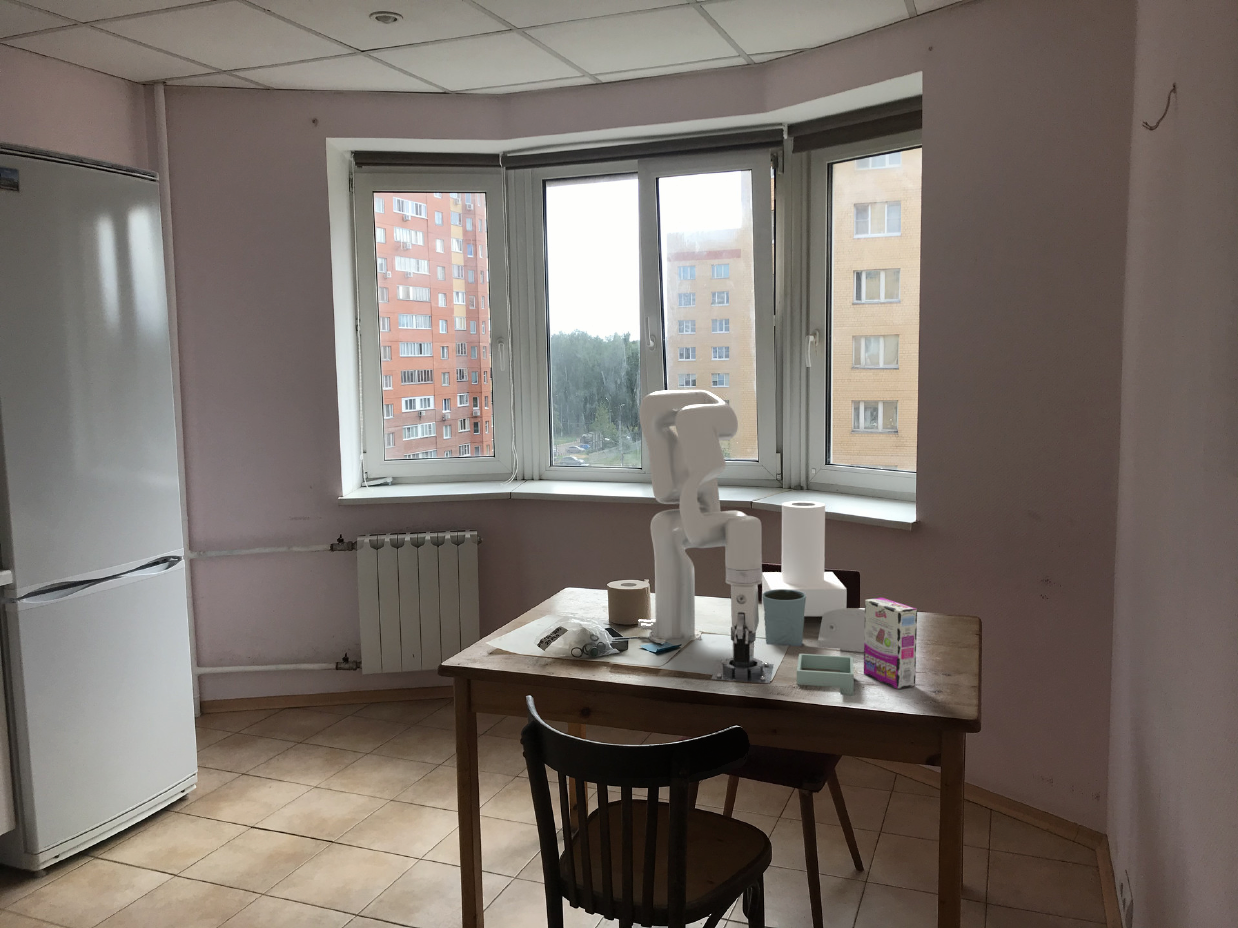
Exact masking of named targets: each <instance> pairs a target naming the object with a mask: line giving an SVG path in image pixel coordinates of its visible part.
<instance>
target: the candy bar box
mask: <svg viewBox="0 0 1238 928" xmlns="http://www.w3.org/2000/svg"><path fill="white" fill-rule="evenodd" d="M864 610H865V629H864V652H863V674H864V675H866V676H867V677H870V678H872V679H874V680H877V681H879V682H880V683H883V684H886V685H888V686H890V687H893V688H894V689H896V690H900V689H908V688H912V687H916V673H917V671H916V670H917V667H916V666H917V634H918V632H917V631H918V628H917V627H918V608H916V607H912V606H909V605H906V604H903V603H900V602H896V601H894V600H892V599H887V598H885V597H875V598H870V599H869V598H868V599H864Z"/></svg>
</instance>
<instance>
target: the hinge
mask: <svg viewBox="0 0 1238 928" xmlns="http://www.w3.org/2000/svg"><path fill="white" fill-rule="evenodd" d="M821 618H822V619H821V623H820V628H819V633H818V638H817V648H827V649H839V650H841V651H848V652H859V653H864V629H865V608H864V609H863V608H862V609H861V608H854V607H853V608H852V607H851V608H849V607H848V608H847V607H846V608H844V609H836V610H831V611H828V612H825V613H824V614H823V616H821Z"/></svg>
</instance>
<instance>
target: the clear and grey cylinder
mask: <svg viewBox="0 0 1238 928" xmlns="http://www.w3.org/2000/svg"><path fill="white" fill-rule="evenodd" d="M743 629H747V628H743ZM756 633H757V630H756V631H755V632H754V633H752V631H749V638H748V643H750V662H749V663H739V662H734V640H735V632H734V631H733V630H732V626H731V627H730V640H731V642H732V658H733V666H734V667H741V668H749V667H754V658H755V655H754V654H755V653H754V652H755V651H754V650H755V642H756V639H757V637H756ZM745 635H746V634H745Z"/></svg>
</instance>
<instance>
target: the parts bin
mask: <svg viewBox="0 0 1238 928" xmlns="http://www.w3.org/2000/svg"><path fill="white" fill-rule="evenodd" d="M802 668H803V669H806V670H803V669H802ZM807 669H817V670H807ZM822 670H834V671H822ZM838 671H839V672H838ZM854 676H855V671H854V656H845V655H843V656H842V655H828V654H827V655H826V654H814V653H813V654H812V653H811V654H810V653H799V654H798V660H797V668H796V685H800V686H801V685H803V686H817V687H829V688H830V687H833V688H839V690H840V691H839V693H840V695H844V696H845V695H846V696H854V689H855V688H854V684H855V682H854V681H855V677H854Z"/></svg>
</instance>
